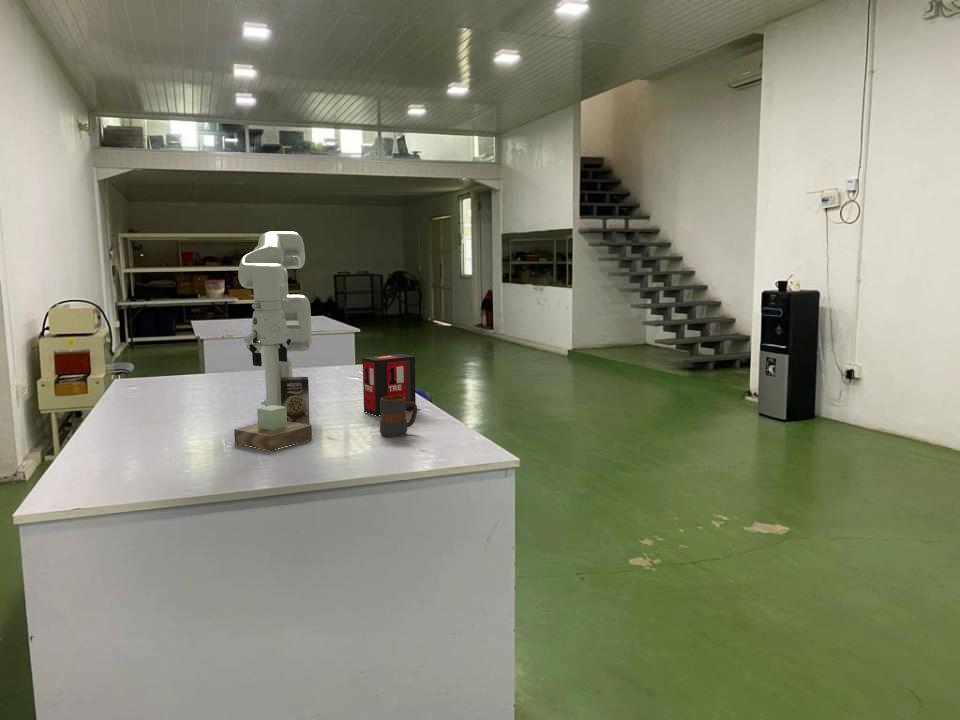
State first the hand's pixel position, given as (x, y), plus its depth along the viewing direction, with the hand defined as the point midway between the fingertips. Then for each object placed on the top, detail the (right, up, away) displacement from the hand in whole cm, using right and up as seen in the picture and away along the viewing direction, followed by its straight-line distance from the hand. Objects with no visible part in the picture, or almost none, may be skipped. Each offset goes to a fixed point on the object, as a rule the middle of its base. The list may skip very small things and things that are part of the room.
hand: (270, 363), depth 211 cm
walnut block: (0, -24, +3) cm, 25 cm away
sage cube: (0, -19, +3) cm, 20 cm away
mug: (+37, -23, +12) cm, 45 cm away
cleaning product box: (+30, -18, +45) cm, 57 cm away
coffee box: (+2, -21, +24) cm, 32 cm away
